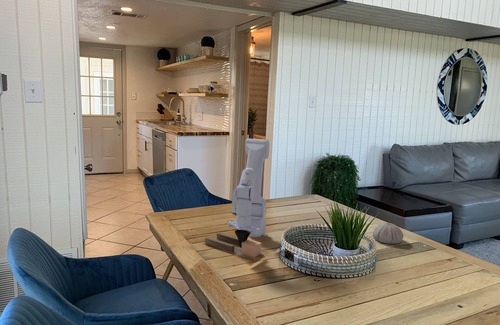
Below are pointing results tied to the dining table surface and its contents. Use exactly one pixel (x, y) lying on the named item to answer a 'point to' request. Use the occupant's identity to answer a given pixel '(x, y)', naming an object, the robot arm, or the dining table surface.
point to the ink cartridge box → (234, 202)
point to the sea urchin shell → (388, 233)
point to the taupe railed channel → (229, 246)
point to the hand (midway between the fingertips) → (242, 247)
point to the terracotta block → (251, 248)
